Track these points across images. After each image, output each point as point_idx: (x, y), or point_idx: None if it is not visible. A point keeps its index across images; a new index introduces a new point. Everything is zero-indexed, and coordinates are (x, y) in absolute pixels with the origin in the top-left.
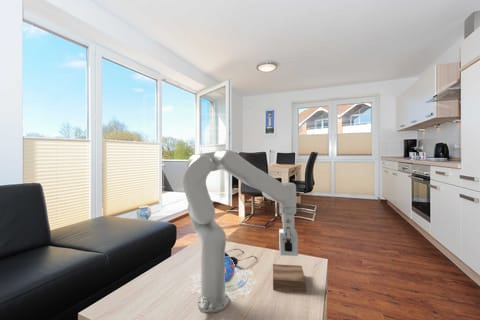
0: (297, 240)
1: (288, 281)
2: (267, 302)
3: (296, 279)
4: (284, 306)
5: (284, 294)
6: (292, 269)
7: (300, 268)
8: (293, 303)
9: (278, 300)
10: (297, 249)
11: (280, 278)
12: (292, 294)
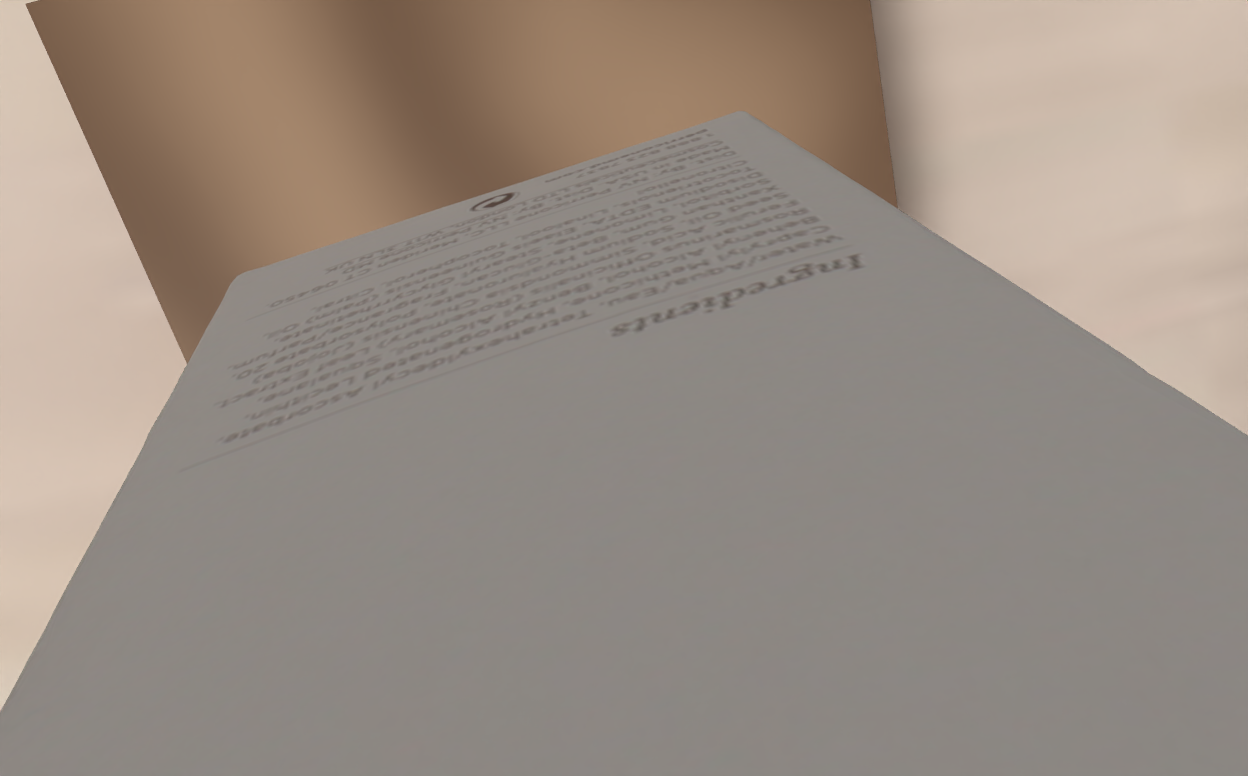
0: (1162, 383)
1: (888, 198)
2: (1187, 387)
3: (808, 38)
4: (1241, 134)
5: (944, 202)
6: (372, 213)
7: (211, 18)
8: (1150, 8)
9: (1116, 255)
10: (845, 183)
11: None
12: (910, 69)
